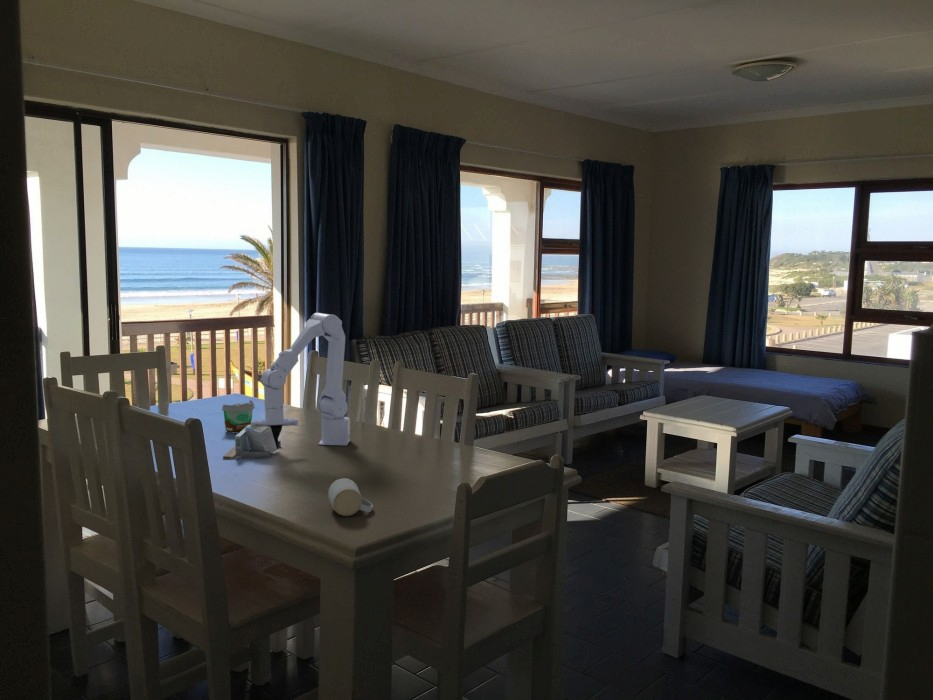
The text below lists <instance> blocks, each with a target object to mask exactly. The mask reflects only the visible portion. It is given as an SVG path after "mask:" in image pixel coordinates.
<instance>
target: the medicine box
mask: <svg viewBox="0 0 933 700" xmlns="http://www.w3.org/2000/svg"><path fill="white" fill-rule="evenodd" d="M245 431H246V435H247V438H248V441H249V445H250V448H251V449H250V451H271V454H273V453H275V452H276V451H277V450H278V449H277V447H276V444H275V440H274V437H273V434H272V430H271V427H270V426H266V425H255V426H253V427H251V425H250V426H248V427H247V428H245Z"/></svg>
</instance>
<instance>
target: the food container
mask: <svg viewBox="0 0 933 700" xmlns="http://www.w3.org/2000/svg"><path fill="white" fill-rule="evenodd" d="M254 409H255V404H254V401H253V400H251V399H249V402H247V403H246V402H245V403H235V404H229V405H228V404H222V408H221V411H223V417H224V428H225V432H226V431H227V432H226V433H228V432H241V431H242V430H243V429H244V428H246V427H247V426H248V425H251V421H253V410H254Z"/></svg>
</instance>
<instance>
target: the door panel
mask: <svg viewBox="0 0 933 700" xmlns="http://www.w3.org/2000/svg"><path fill="white" fill-rule="evenodd" d="M248 426H250V425H248ZM248 426H247V427H248ZM247 427H246V428H247ZM234 439H235V440H234V441H235V444H234V446H235V451H236V457H235V459H242V458H241V451H248V450H249V449H250V445H249V441H248V438H247V435H246V431H245V428H244V429H243V430H242V431H241V432H240V433H236V435H235V438H234ZM250 450H251V449H250ZM250 450H249V451H250Z"/></svg>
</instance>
